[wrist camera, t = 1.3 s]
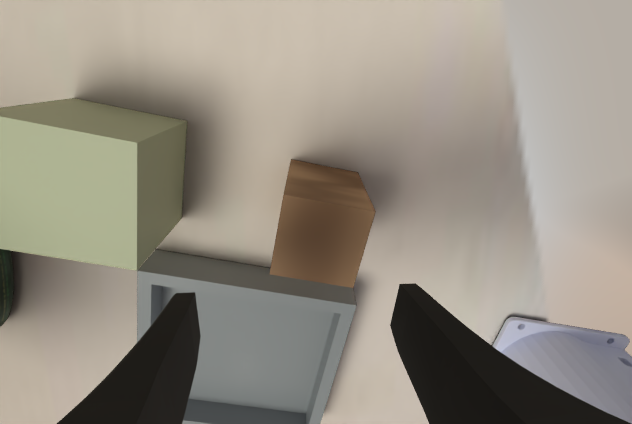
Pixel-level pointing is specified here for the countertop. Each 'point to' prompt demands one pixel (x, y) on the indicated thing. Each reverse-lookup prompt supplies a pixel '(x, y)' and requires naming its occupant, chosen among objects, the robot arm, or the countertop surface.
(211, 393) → the grey tray
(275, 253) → the walnut block
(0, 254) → the coffee jar
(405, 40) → the countertop surface
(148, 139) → the olive block
